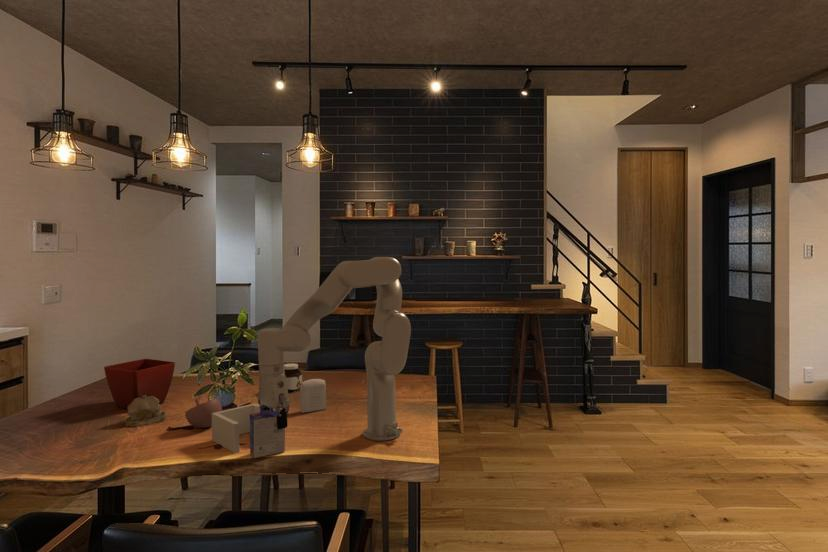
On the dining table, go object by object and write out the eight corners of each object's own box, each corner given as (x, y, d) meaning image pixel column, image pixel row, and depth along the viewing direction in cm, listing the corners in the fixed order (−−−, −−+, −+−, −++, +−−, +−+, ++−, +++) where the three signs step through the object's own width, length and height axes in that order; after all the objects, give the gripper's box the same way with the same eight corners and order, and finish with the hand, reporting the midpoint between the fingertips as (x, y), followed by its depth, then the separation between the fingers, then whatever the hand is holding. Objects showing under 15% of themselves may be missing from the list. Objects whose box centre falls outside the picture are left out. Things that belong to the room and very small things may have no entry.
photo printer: (323, 406, 201) (322, 376, 200) (327, 409, 197) (327, 378, 197) (298, 411, 195) (298, 380, 195) (302, 414, 191) (302, 382, 191)
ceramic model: (122, 429, 176) (121, 401, 176) (124, 420, 186) (123, 393, 186) (166, 423, 182) (166, 396, 182) (166, 414, 192) (165, 389, 192)
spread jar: (288, 394, 220) (288, 368, 220) (270, 390, 226) (270, 365, 226) (307, 388, 230) (307, 363, 230) (290, 385, 236) (289, 360, 236)
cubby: (279, 439, 164) (279, 412, 164) (234, 453, 153) (234, 424, 153) (255, 428, 175) (255, 403, 175) (212, 440, 164) (211, 413, 164)
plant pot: (177, 401, 210) (176, 361, 210) (135, 414, 193) (134, 371, 192) (146, 396, 218) (145, 358, 218) (103, 408, 201) (102, 366, 200)
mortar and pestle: (203, 420, 185) (203, 389, 184) (229, 423, 181) (228, 392, 180) (177, 430, 174) (177, 398, 173) (204, 434, 169) (203, 401, 169)
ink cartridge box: (280, 444, 158) (281, 400, 157) (286, 452, 154) (286, 406, 152) (248, 451, 153) (249, 406, 151) (253, 459, 148) (253, 412, 147)
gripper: (298, 371, 148) (300, 427, 149) (268, 363, 160) (270, 415, 161) (275, 375, 143) (277, 434, 143) (246, 367, 155) (248, 421, 155)
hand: (273, 424), depth 152 cm, fingers open, 9 cm apart
